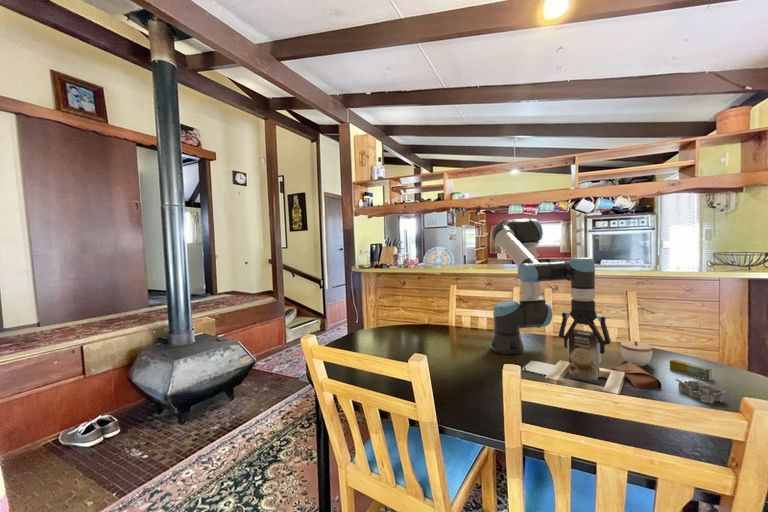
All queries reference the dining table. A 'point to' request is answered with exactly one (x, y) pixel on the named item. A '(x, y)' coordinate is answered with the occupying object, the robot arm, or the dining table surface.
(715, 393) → the grey flat lump
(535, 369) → the spiral notepad
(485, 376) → the dining table surface
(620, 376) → the board
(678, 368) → the medication box
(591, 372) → the coffee box
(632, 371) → the sunglasses case
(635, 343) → the lidded jar
